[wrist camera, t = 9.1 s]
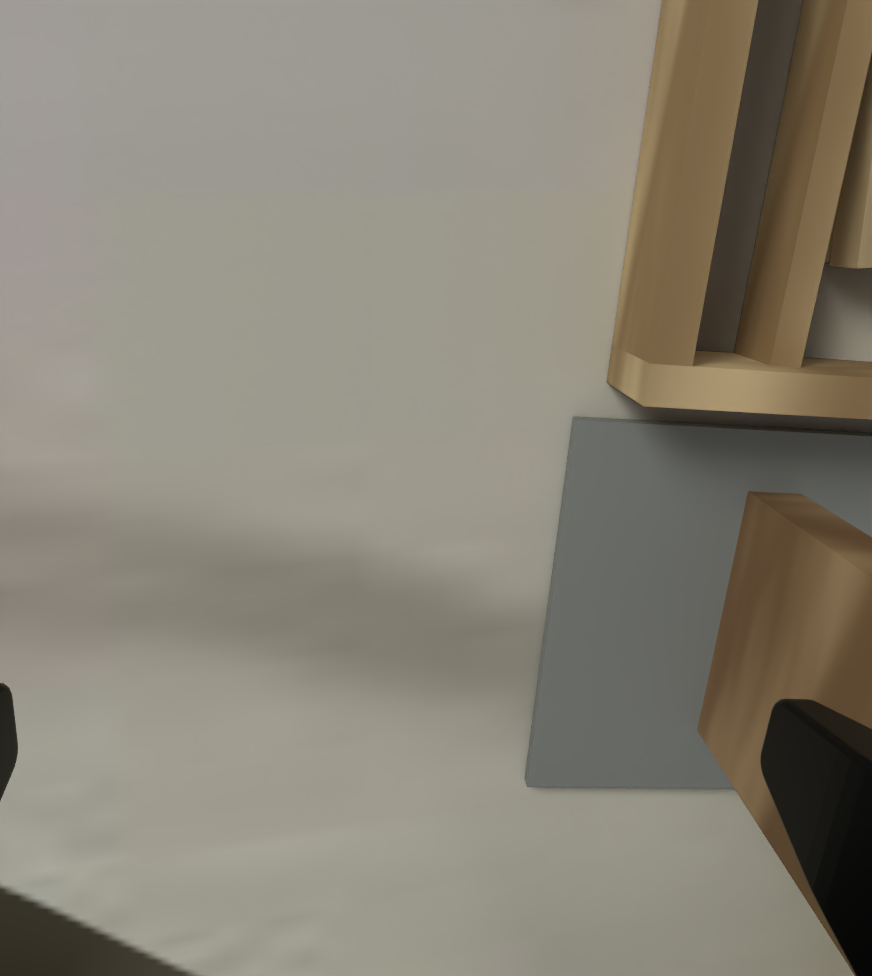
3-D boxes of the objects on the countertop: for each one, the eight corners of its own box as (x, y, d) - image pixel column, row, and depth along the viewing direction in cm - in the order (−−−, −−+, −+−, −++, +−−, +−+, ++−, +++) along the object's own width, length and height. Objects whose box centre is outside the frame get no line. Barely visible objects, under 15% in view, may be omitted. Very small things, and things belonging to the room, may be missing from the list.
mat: (977, 439, 22) (988, 442, 22) (872, 781, 26) (880, 789, 26) (573, 416, 21) (576, 420, 21) (524, 778, 25) (526, 787, 24)
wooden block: (801, 493, 22) (1127, 696, 12) (745, 731, 24) (980, 1049, 15) (748, 491, 22) (1037, 693, 12) (696, 730, 24) (904, 1052, 15)
